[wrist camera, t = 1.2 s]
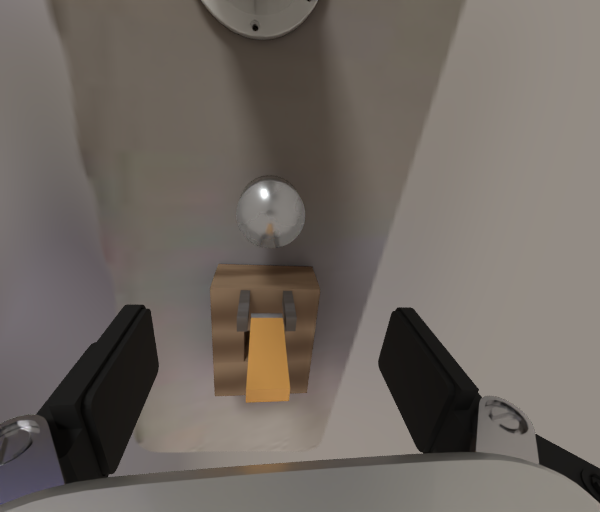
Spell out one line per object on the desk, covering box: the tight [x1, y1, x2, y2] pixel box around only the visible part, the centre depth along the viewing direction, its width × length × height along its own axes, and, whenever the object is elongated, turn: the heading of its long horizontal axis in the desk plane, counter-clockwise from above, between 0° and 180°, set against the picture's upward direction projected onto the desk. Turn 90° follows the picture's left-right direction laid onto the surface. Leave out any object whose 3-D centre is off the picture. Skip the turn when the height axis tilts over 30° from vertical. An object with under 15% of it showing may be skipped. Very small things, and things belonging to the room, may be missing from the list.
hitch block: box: [210, 264, 320, 396], centre depth 34 cm, size 16×12×11 cm
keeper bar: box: [246, 313, 290, 403], centre depth 24 cm, size 9×3×1 cm
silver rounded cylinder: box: [236, 175, 305, 248], centre depth 29 cm, size 6×6×9 cm
